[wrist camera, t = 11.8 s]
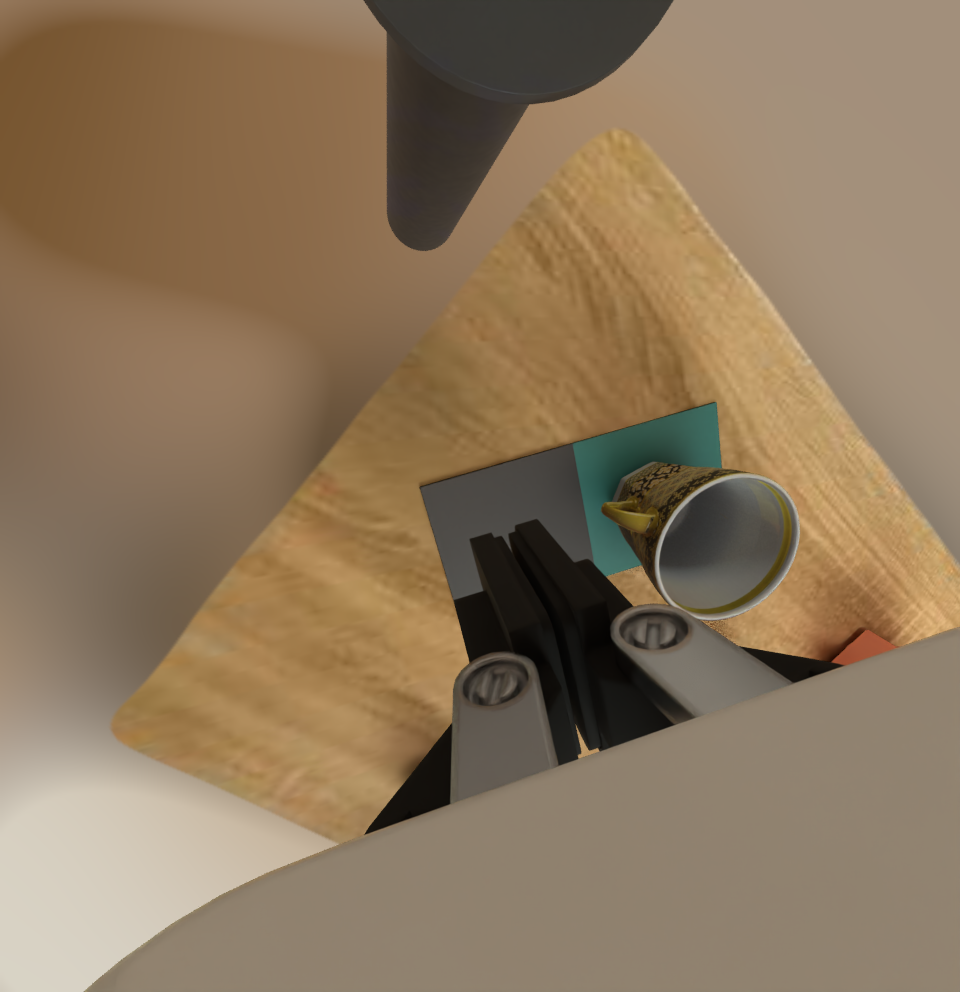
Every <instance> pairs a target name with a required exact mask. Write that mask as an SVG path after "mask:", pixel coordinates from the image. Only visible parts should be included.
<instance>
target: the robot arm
mask: <svg viewBox="0 0 960 992" xmlns="http://www.w3.org/2000/svg"><path fill="white" fill-rule="evenodd" d="M508 537H509V542H510V546H511V550H512V552H511V550H510V548H509V547H508V545H507V543H506V542H505V540H504V538H503V537H502V536H498V537H495V538H494V536H493V534H492V533H487V534H484V535H481V536H477V537H474V538H471V539H469V540H470V544H471V548H472V552H473V555H474V559H475V563H476V566H477V570H478V574H479V577H480V581H481V585H482V588H483V591H481V592H478V593H475V594H471V595H468V596H465V597H462V598H459V599H455V600H454V604H455V607H456V611H457V615H458V619H459V623H460V627H461V631H462V635H463V639H464V642H465V646H466V650H467V654H468V658H469V662H470V663H469V664H468V665H467V666H466V667H465V668H464V669H462V670H461V672H460V673H459V675H458V676H457V678H456V680H455V684H454V688H453V716H452V724H451V725H450V726H449V727H448V729H447V730H446V731H445V732H444V734H443V735H442V736H441V737H440V739H439V740H438V741H437V742H436V744H435V745H434V746H433V747H432V749H431V750H430V751H429V752H428V754H427V755H426V756H425V757H424V759H423V760H422V761H421V762H420V764H419V765H418V766H417V767H416V769H415V770H414V771H413V772H412V774H411V775H410V776H409V778H408V779H407V780H406V781H405V783H404V784H403V785H402V786H401V788H400V789H399V790H398V791H397V793H396V794H395V795H394V796H393V798H392V799H391V800H390V801H389V803H388V804H387V805H386V806H385V808H384V809H383V810H382V811H381V813H380V814H379V815H378V816H377V818H376V819H375V820H374V821H373V823H372V824H371V825H370V826H369V828H368V830H367V831H366V833H365V834H364V835H363V836H360V837H357V838H355V839H352V840H349V841H347V842H344V843H342V844H339V845H337V846H335V847H332V848H329V849H327V850H324V851H322V852H319V853H317V854H314V855H312V856H309V857H306V858H304V859H301V860H299V861H296V862H294V863H291V864H288V865H286V866H283V867H281V868H278V869H276V870H273V871H271V872H269V873H266V874H264V875H262V876H259V877H258V878H255V879H253V880H251V881H249V882H247V883H245V884H243V885H241V886H239V887H237V888H234V889H233V890H230V891H228V892H226V893H224V894H222V895H220V896H218V897H216V898H215V899H213V900H211V901H210V902H208V903H206V904H205V905H203V906H201V907H200V908H198V909H196V910H194V911H193V912H191V913H189V914H188V915H186V916H184V917H182V918H181V919H179V920H177V921H176V922H174V923H172V924H171V925H169V926H168V927H167V928H165V929H164V930H162V931H161V932H160V933H158V934H157V935H155V936H154V937H153V938H152V939H150V940H148V941H147V942H146V943H144V944H143V945H141V946H140V947H139V948H137V949H136V950H135V951H133V952H132V953H130V954H129V955H127V956H126V957H125V958H123V959H122V960H121V961H119V962H118V963H117V964H116V965H115V966H113V967H112V968H111V969H110V970H108V971H107V972H106V973H105V974H104V975H102V976H101V977H100V978H99V979H98V980H96V981H95V982H94V983H93V984H92V985H91V986H90V987H88V988H87V989H86V990H85V991H84V992H960V627H957V628H954V629H950V630H947V631H944V632H941V633H938V634H936V635H933V636H930V637H927V638H924V639H921V640H918V641H915V642H912V643H909V644H906V645H904V646H901V647H898V648H895V649H892V650H889V651H886V652H883V653H880V654H877V655H875V656H872V657H869V658H866V659H863V660H860V661H857V662H854V663H851V664H848V665H841V664H838V663H832V662H826V661H821V660H815V659H809V658H803V657H798V656H792V655H786V654H781V653H775V652H769V651H763V650H758V649H752V648H746V647H740V646H737V645H736V644H734V643H733V642H731V641H730V640H728V639H727V638H725V637H724V636H722V635H721V634H719V633H718V632H716V631H715V630H713V629H712V628H710V627H709V626H707V625H706V624H704V623H703V622H701V621H700V620H698V619H697V618H695V617H694V616H692V615H691V614H689V613H688V612H686V611H684V610H682V609H680V608H678V607H674V606H670V605H666V604H644V605H638V606H635V607H633V606H632V604H631V603H630V602H629V601H628V600H627V599H626V598H625V597H624V596H623V595H622V594H621V593H620V591H619V590H618V589H617V588H616V587H615V586H614V585H613V584H612V583H611V582H610V581H609V580H608V579H607V577H606V576H605V575H604V574H603V573H602V572H601V571H600V570H599V569H598V568H597V567H596V566H595V564H594V563H593V562H592V561H591V560H589V559H584V560H581V561H577V562H573V560H572V559H571V558H570V557H569V556H568V554H567V553H566V552H565V551H564V550H563V549H562V547H561V546H560V545H559V544H558V543H557V541H556V540H555V539H554V538H553V537H552V535H551V534H550V533H549V532H548V531H547V530H546V528H545V527H544V526H543V525H542V524H541V522H540V521H539V520H538V519H534V520H531V521H527V522H524V523H521V524H517V525H515V532H512V533H508ZM575 724H576V725H575ZM576 726H577V728H578V730H579V732H580V734H581V736H582V738H583V740H584V742H585V744H586V746H587V748H588V750H593V749H596V748H598V749H599V751H600V752H597V753H594V754H591V755H588V756H585V757H583V758H580V759H578V755H579V754H581V748H580V743H579V739H578V734H577V730H576Z"/></svg>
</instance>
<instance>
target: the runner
mask: <svg viewBox="0 0 960 992" xmlns="http://www.w3.org/2000/svg"><path fill="white" fill-rule="evenodd" d="M651 462H662V463H667V464H676V465H684V466H690V467H713V468H722V467H721V454H720V441H719V428H718V415H717V403H716V402H714V403H710V404H707V405H703V406H700V407H696V408H693V409H689V410H686V411H682V412H679V413H676V414H672V415H669V416H665V417H662V418H658V419H655V420H651V421H648V422H644V423H641V424H637V425H634V426H630V427H627V428H623V429H620V430H616V431H613V432H609V433H606V434H602V435H599V436H595V437H592V438H588V439H585V440H581V441H578V442H574V443H571V444H568V445H564V446H561V447H557V448H554V449H550V450H547V451H543V452H540V453H536V454H533V455H529V456H526V457H522V458H519V459H515V460H512V461H508V462H505V463H501V464H498V465H494V466H491V467H487V468H484V469H480V470H477V471H473V472H470V473H467V474H463V475H460V476H456V477H453V478H449V479H446V480H442V481H439V482H435V483H432V484H428V485H425V486H421V487H420V490H421V493H422V496H423V500H424V503H425V507H426V510H427V513H428V517H429V520H430V523H431V527H432V530H433V533H434V537H435V540H436V543H437V547H438V550H439V553H440V557H441V560H442V563H443V567H444V570H445V573H446V577H447V580H448V583H449V587H450V590H451V593H452V597H453V600H455V599H459V598H462V597H465V596H468V595H471V594H475V593H478V592H481V591H483V588H482V585H481V581H480V577H479V574H478V570H477V566H476V563H475V559H474V555H473V552H472V548H471V544H470V540H469V539H471V538H474V537H477V536H481V535H484V534H487V533H492V534H493V536H494V538H495V537H498V536H502V537H503V538H504V540H505V542H506V543H507V545H508V547H509V548H510V550H511V546H510V542H509V537H508V533H512V532H515V525H517V524H521V523H524V522H527V521H531V520H534V519H538V520H539V521H540V522H541V524H542V525H543V526H544V527H545V528H546V530H547V531H548V532H549V533H550V534H551V535H552V537H553V538H554V539H555V540H556V541H557V543H558V544H559V545H560V546H561V547H562V549H563V550H564V551H565V552H566V553H567V554H568V556H569V557H570V558H571V559H572V560H573V562H577V561H581V560H584V559H589V560H591V561H592V562H593V563H594V564H595V566H596V567H597V568H598V569H599V570H600V571H601V572H602V573H603V574H604V575H605V576H608V575H612V574H615V573H618V572H621V571H624V570H627V569H631V568H634V567H637V566H640V565H642V564H641V562H640V561H639V559H638V558H637V556H636V555H635V553H634V552H633V550H632V549H631V547H630V546H629V544H628V543H627V542H626V540H625V538H624V537H623V535H622V533H621V531H620V529H619V527H618V524H617V523H615V522H614V521H612V520H610V519H609V518H608V517H606V516H605V515H604V514H603V513H602V512H601V507H602V505H603V504H604V503H605V502H612V500H613V498H614V495H615V493H616V490H617V488H618V485H619V483H620V480H621V479H622V478H623V477H625V476H626V475H628V474H630V473H632V472H634V471H636V470H637V469H639V468H641V467H643V466H645V465H647V464H649V463H651ZM511 552H512V550H511Z"/></svg>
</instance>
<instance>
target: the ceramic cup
mask: <svg viewBox="0 0 960 992" xmlns="http://www.w3.org/2000/svg"><path fill="white" fill-rule="evenodd" d="M601 512H602V513H603V514H604V515H605V516H606V517H608V518H609V519H610V520H612V521H614V522H615V523H617V524H618V527H619V529H620V531H621V533H622V535H623V537H624V538H625V540H626V542H627V543H628V544H629V546H630V547H631V549H632V550H633V552H634V553H635V555H636V556H637V558H638V559H639V561H640V562H641V564H642V566H643V568H644V570H645V572H646V574H647V576H648V577H649V579H650V580H651V582H652V584H653V585H654V587H655V588H656V590H657V591H658V592H659V594H660V595H661V596H662V597H663V599H664V600H665V601H666V602H667V603H668V604H669V605H670V606H674V607H678V608H680V609H682V610H684V611H686V612H688V613H689V614H691V615H692V616H694V617H695V618H697V619H698V620H704V621H717V620H724V619H728V618H731V617H735V616H737V615H740V614H742V613H744V612H746V611H748V610H750V609H752V608H753V607H755V606H757V605H758V604H759V603H761V602H762V601H763V600H764V599H766V598H767V597H768V596H769V595H770V594H771V593H772V592H773V591H774V590H775V589H776V588H777V586H778V585H779V584H780V583H781V581H782V580H783V579H784V577H785V576H786V574H787V572H788V571H789V569H790V567H791V565H792V563H793V560H794V558H795V555H796V552H797V548H798V543H799V537H800V523H799V516H798V512H797V509H796V506H795V504H794V502H793V500H792V498H791V497H790V495H789V494H788V492H787V491H786V490H785V489H784V488H783V487H782V486H780V485H779V484H778V483H777V482H775V481H773V480H772V479H770V478H768V477H765V476H762V475H759V474H754V473H748V472H743V471H737V470H731V469H722V468H713V467H690V466H684V465H676V464H667V463H662V462H651V463H649V464H647V465H645V466H643V467H641V468H639V469H637V470H636V471H634V472H632V473H630V474H628V475H626V476H625V477H623V478H622V479H621V480H620V483H619V485H618V488H617V490H616V493H615V495H614V498H613V500H612V502H605V503H604V504H603V505H602V507H601Z"/></svg>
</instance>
